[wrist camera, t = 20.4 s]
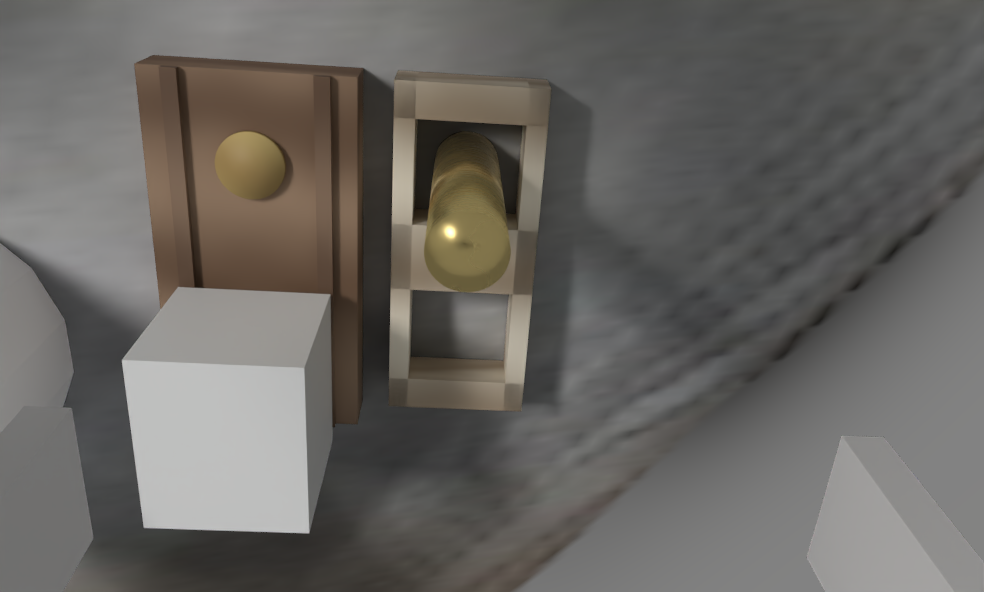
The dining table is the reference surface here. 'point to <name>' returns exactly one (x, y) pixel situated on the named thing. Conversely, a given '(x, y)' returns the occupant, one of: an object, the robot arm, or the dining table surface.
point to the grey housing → (232, 410)
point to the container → (30, 342)
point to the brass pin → (467, 215)
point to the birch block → (431, 101)
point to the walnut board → (260, 188)
